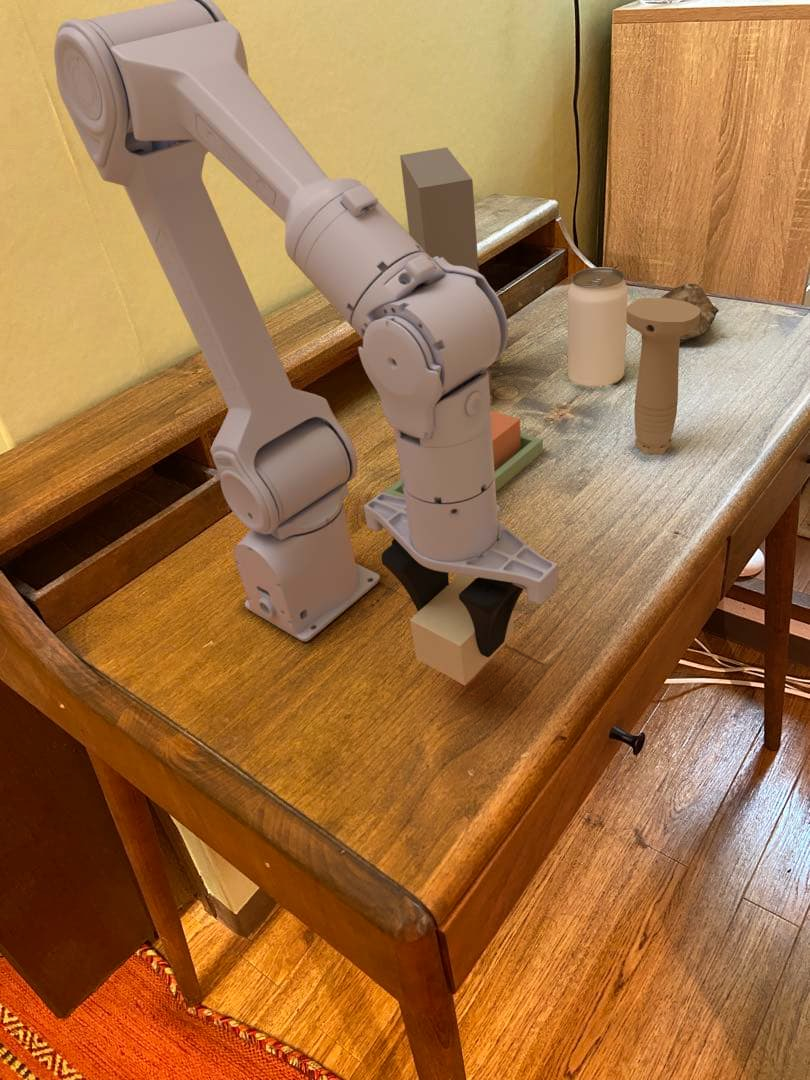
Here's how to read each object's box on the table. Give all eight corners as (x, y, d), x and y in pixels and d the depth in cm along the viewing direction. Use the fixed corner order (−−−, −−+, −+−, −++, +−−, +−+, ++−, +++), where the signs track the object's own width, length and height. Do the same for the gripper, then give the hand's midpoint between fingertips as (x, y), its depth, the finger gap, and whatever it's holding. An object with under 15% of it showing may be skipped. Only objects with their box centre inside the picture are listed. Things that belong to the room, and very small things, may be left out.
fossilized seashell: (734, 324, 97) (706, 305, 106) (707, 279, 95) (680, 263, 103) (678, 363, 99) (655, 341, 108) (650, 320, 97) (629, 301, 106)
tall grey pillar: (495, 408, 94) (481, 178, 78) (442, 417, 93) (418, 188, 78) (470, 356, 104) (454, 145, 89) (423, 365, 104) (398, 154, 89)
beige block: (465, 686, 57) (460, 645, 54) (415, 659, 59) (409, 619, 57) (514, 634, 60) (512, 594, 58) (466, 610, 63) (462, 571, 60)
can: (632, 368, 97) (637, 268, 90) (611, 393, 93) (615, 291, 86) (580, 360, 100) (581, 263, 93) (558, 384, 96) (557, 285, 89)
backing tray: (449, 535, 76) (447, 518, 75) (385, 508, 81) (382, 491, 80) (543, 455, 85) (542, 439, 84) (480, 435, 89) (479, 419, 88)
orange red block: (487, 481, 82) (484, 447, 79) (451, 468, 84) (448, 435, 82) (521, 452, 85) (520, 419, 82) (486, 441, 87) (483, 408, 85)
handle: (671, 470, 80) (685, 326, 71) (612, 453, 84) (617, 314, 74) (693, 447, 83) (709, 305, 73) (634, 431, 86) (642, 294, 77)
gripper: (585, 479, 49) (582, 640, 57) (402, 417, 57) (422, 566, 65) (517, 543, 45) (524, 705, 53) (330, 467, 53) (362, 618, 61)
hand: (464, 633), depth 59 cm, fingers closed on beige block, 4 cm apart
